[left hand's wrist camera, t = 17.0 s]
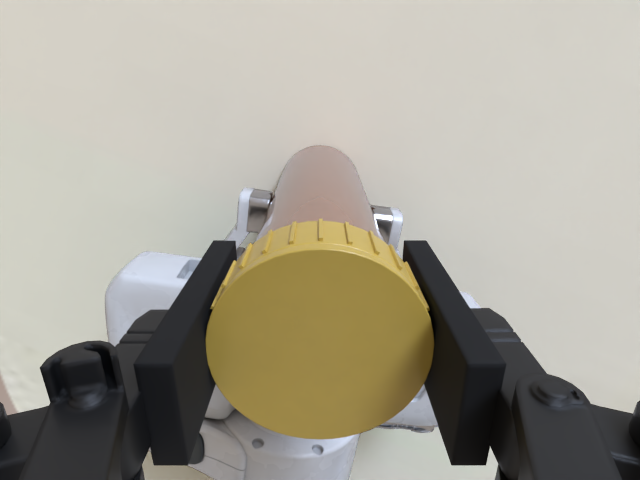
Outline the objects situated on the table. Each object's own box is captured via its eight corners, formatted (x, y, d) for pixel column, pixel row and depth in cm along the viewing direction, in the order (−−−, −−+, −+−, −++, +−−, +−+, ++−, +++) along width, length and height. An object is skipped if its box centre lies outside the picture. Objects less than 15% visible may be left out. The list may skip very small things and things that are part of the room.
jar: (281, 221, 28) (232, 409, 12) (280, 144, 26) (218, 248, 10) (356, 222, 28) (405, 410, 12) (360, 145, 26) (423, 251, 10)
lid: (422, 381, 13) (439, 432, 11) (239, 398, 14) (226, 450, 12) (417, 206, 11) (437, 233, 9) (200, 229, 11) (176, 260, 9)
